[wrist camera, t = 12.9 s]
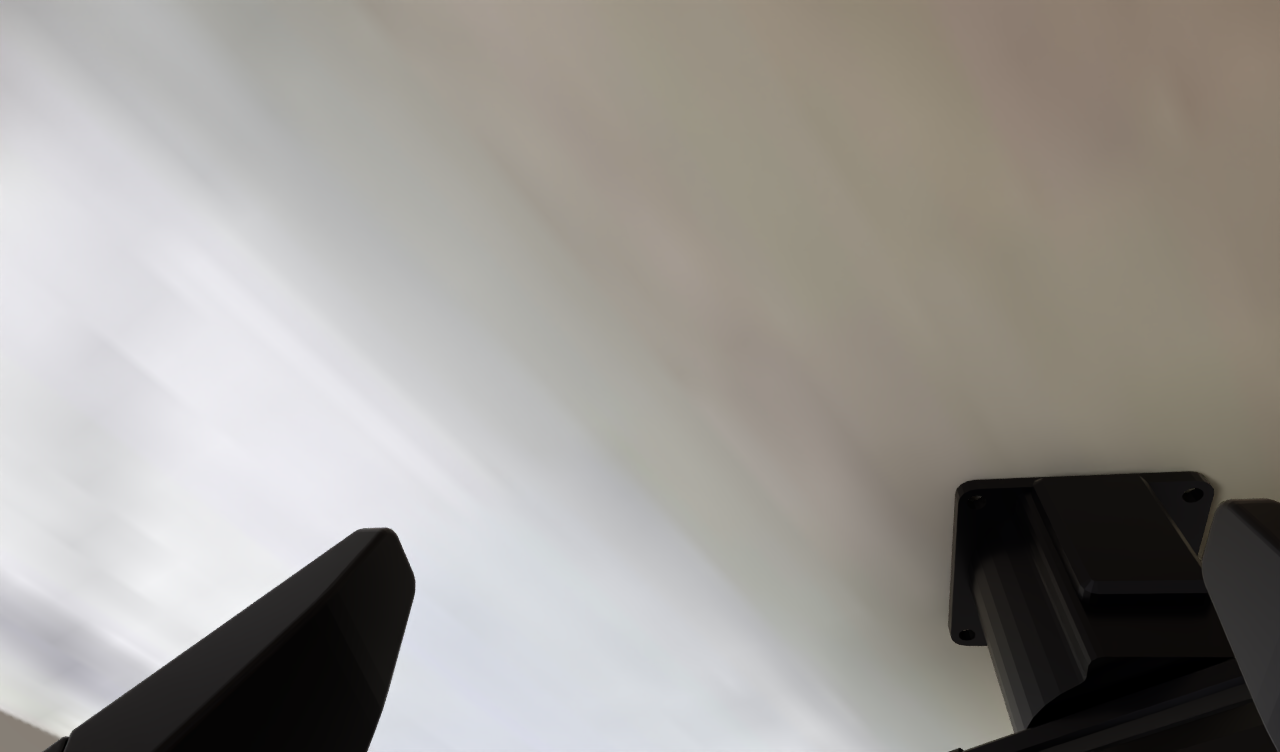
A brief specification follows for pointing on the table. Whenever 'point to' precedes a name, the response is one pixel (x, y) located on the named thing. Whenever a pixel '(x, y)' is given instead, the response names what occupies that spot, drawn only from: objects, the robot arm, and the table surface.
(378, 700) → the robot arm
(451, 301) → the table surface
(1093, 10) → the table surface
